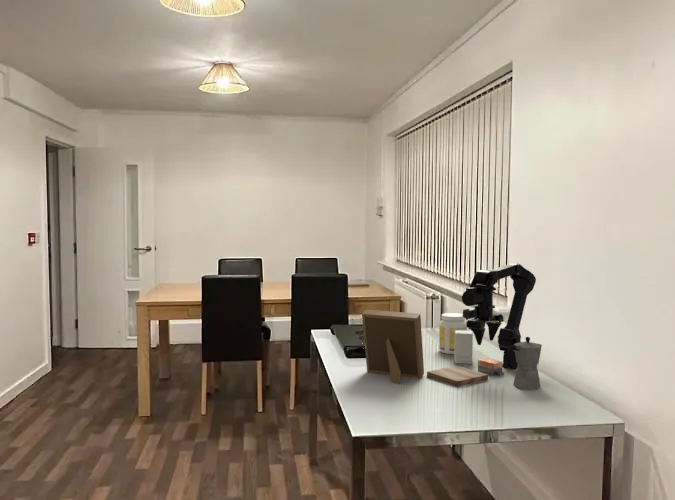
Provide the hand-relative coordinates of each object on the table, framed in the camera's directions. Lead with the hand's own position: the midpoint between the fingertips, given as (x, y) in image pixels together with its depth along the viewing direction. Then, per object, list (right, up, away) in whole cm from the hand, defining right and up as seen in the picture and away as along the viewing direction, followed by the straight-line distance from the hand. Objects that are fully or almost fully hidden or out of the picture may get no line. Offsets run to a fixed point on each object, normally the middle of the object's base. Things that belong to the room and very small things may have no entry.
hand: (485, 342), depth 226 cm
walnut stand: (-12, -12, -7) cm, 19 cm away
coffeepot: (+10, -13, -17) cm, 24 cm away
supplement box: (-4, -11, +19) cm, 23 cm away
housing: (+2, -12, +2) cm, 12 cm away
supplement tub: (-5, -10, +37) cm, 38 cm away
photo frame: (-37, -13, -6) cm, 40 cm away
